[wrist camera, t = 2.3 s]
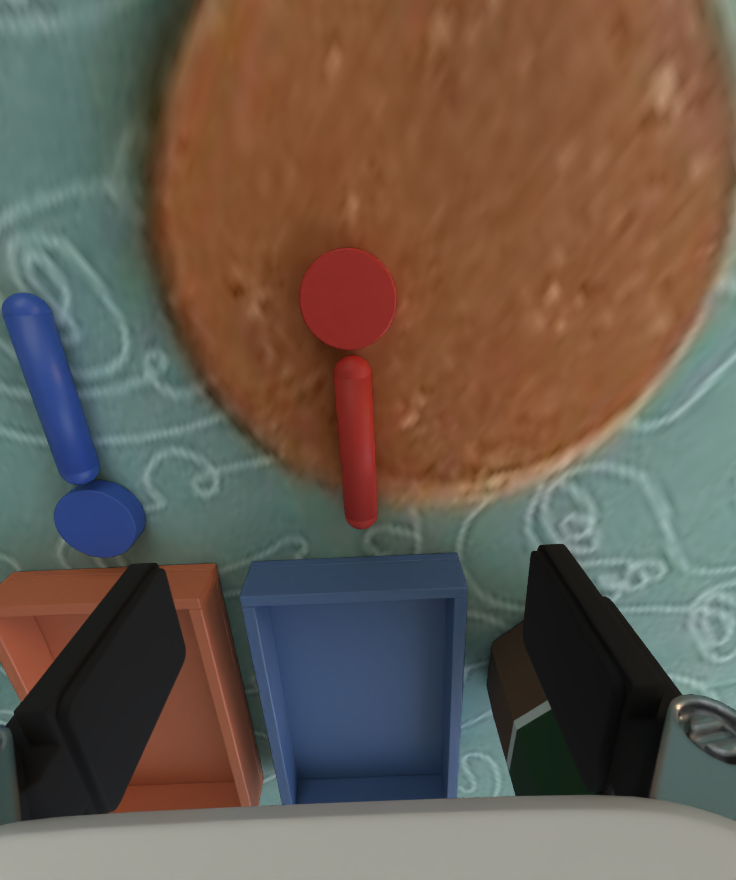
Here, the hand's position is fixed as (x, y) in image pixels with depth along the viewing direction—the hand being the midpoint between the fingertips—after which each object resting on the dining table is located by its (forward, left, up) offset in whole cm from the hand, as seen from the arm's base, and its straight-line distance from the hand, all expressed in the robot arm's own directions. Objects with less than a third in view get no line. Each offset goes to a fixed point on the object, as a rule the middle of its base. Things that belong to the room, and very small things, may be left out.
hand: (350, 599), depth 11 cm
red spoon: (-3, 0, -9) cm, 9 cm away
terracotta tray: (+14, -12, -9) cm, 21 cm away
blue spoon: (-1, -12, -9) cm, 15 cm away
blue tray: (+14, 0, -9) cm, 17 cm away
